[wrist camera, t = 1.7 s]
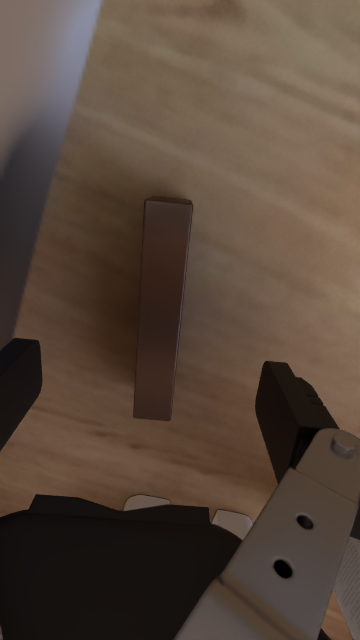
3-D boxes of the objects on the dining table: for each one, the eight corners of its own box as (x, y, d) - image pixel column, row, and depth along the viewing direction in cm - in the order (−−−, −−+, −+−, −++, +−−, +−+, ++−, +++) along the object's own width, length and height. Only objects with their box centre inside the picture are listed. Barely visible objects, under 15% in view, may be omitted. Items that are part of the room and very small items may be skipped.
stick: (151, 196, 16) (144, 198, 14) (191, 200, 16) (193, 203, 14) (139, 386, 21) (132, 418, 18) (172, 389, 21) (170, 421, 18)
